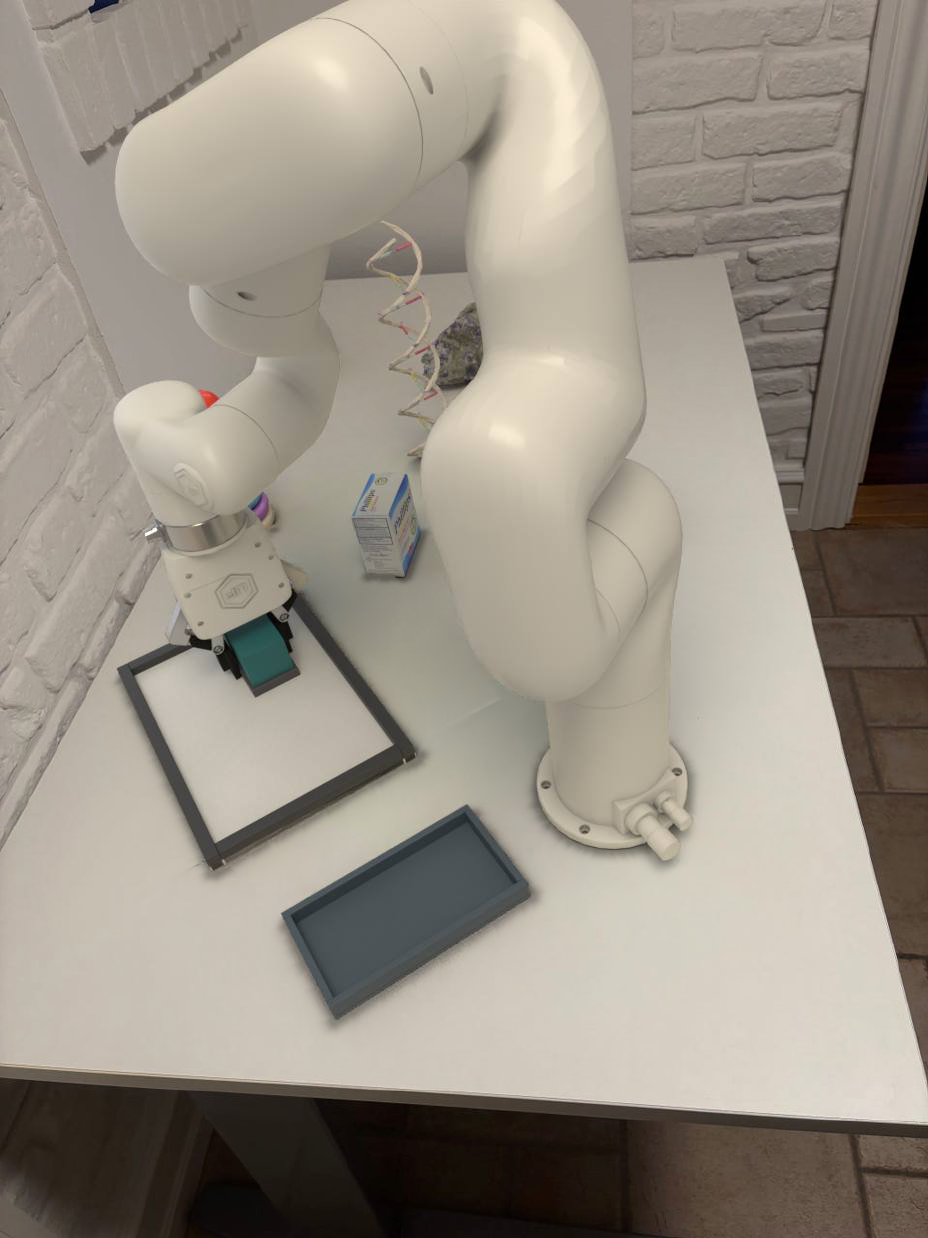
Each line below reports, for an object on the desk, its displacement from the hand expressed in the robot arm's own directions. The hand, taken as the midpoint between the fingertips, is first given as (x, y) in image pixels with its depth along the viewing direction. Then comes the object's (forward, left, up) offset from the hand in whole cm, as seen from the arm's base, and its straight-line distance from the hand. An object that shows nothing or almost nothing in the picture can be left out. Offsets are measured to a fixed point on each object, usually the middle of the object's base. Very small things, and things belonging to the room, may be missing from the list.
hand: (259, 656), depth 98 cm
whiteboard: (-7, +3, -1) cm, 7 cm away
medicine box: (+6, -19, -1) cm, 20 cm away
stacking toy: (+23, -7, -1) cm, 24 cm away
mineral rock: (+35, -47, -1) cm, 59 cm away
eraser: (0, 0, 0) cm, 0 cm away
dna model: (+18, -31, -1) cm, 36 cm away
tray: (-34, +1, -1) cm, 34 cm away
